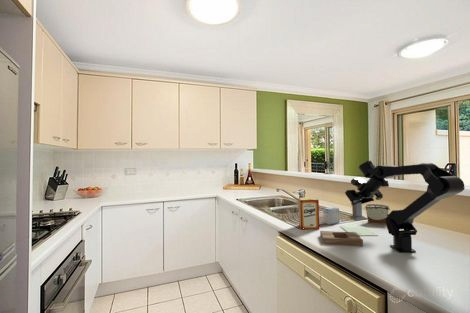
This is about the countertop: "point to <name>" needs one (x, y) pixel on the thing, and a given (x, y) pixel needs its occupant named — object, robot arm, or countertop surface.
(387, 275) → the countertop surface
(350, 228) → the sage mat
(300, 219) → the baking soda box
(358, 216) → the lever cap
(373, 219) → the food container
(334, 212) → the medicine box
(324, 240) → the brown rectangular frame
